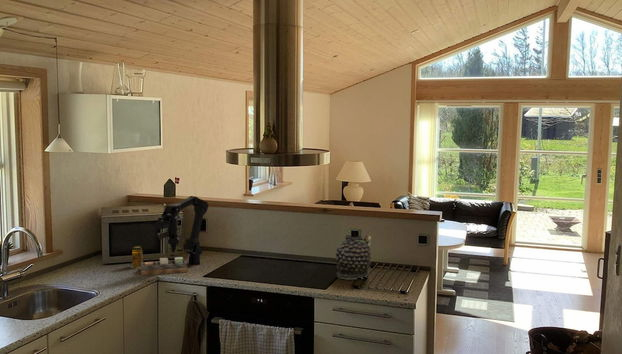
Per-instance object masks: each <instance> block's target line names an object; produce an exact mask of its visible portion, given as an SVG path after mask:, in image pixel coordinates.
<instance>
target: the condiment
mask: <svg viewBox="0 0 622 354" xmlns="http://www.w3.org/2000/svg"><path fill="white" fill-rule="evenodd" d="M143 256H144V255H143V248H142V246H139V245H138V246H133V247H132V253H131V261H132V262H131V264H132V265H131V266H130V268H132V269H141V263H144V260H143V259H144V257H143Z"/></svg>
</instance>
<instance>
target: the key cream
mask: <svg viewBox="0 0 622 354" xmlns="http://www.w3.org/2000/svg"><path fill="white" fill-rule="evenodd" d="M168 261H169V259H168V257H160V258H159V262H160V265H162V264H168Z"/></svg>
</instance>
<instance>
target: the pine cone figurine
mask: <svg viewBox="0 0 622 354" xmlns="http://www.w3.org/2000/svg"><path fill="white" fill-rule="evenodd" d="M371 241H372V237H371V236H370V235H366V236H364V239H363V238H362V236H360V235H358V236H353V234H352V236H351V235H348V234H345V238H344V239H343V240H342V242H341V243H340V244H339V245H338V247H337V249H336V253H335V260H336V268H337V269H338V271H337V272H336V276H337V278H338V279H343V280H358V279H357V278H361V279H364V278H363V277H366V278H368V277H369V272H368V271H369V268H370V264H371V261H370V260H371V256H372V255H371V248H370V247H371V244H372V243H371ZM367 276H368V277H367Z"/></svg>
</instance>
